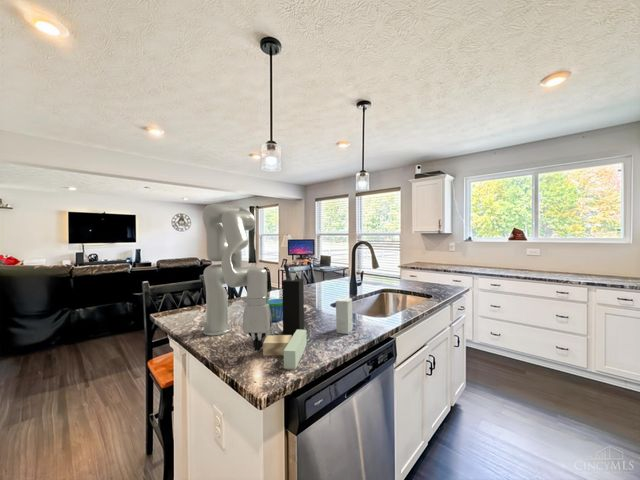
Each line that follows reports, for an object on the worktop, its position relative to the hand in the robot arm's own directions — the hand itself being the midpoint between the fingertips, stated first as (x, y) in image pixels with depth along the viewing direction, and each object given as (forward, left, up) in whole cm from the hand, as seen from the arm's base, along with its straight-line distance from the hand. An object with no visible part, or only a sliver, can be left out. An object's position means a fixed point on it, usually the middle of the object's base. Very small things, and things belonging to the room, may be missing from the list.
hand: (258, 349), depth 101 cm
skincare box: (+32, +28, -2) cm, 42 cm away
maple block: (+7, +3, -2) cm, 8 cm away
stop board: (+15, 0, -2) cm, 15 cm away
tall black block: (+9, +22, -2) cm, 24 cm away
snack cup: (-5, +42, -2) cm, 42 cm away
